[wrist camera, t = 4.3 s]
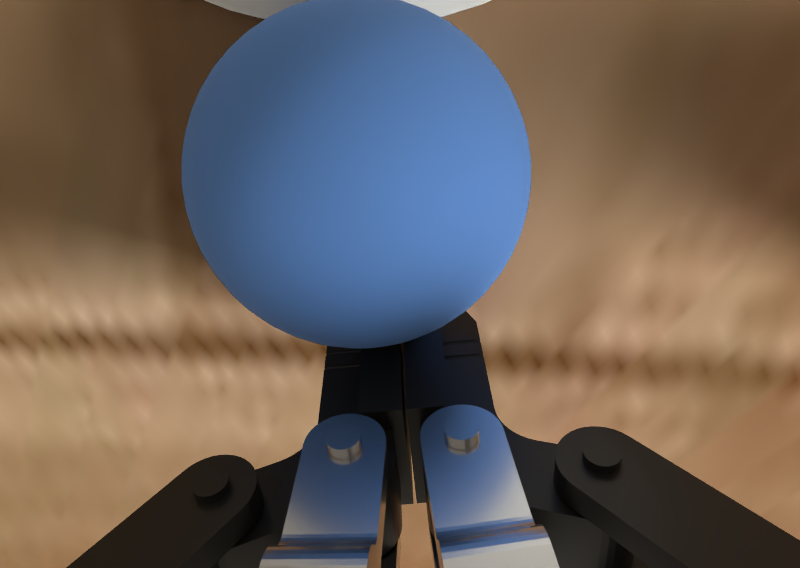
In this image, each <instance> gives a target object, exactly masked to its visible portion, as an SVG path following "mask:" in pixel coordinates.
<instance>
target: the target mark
mask: <svg viewBox="0 0 800 568" xmlns="http://www.w3.org/2000/svg"><path fill="white" fill-rule="evenodd" d="M204 1H207V2H210V3H212V4H215V5H217V6H220V7H222V8H225V9H228V10H230V11H234V12H238V13H242V14H246V15H250V16H254V17H258V18H262V19H266V18H268V17H269V16H271V15H273V14H276V13H278V12H280V11H282V10H284V9H286V8H288V7H290V6H292V5H295V4H298V3H302V2H305V1H309V0H204ZM401 1H404V2H407V3H410V4H413V5H415V6H418V7H421V8H424V9H426V10H428V11H430V12H432V13H433V14H435V15H437V16H439V17H443V16H446V15H449V14H453V13H456V12H459V11H462V10H466V9H469V8H472V7H475V6H478V5H482V4H485V3H487V2H489V1H491V0H401Z"/></svg>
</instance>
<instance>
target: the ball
mask: <svg viewBox="0 0 800 568" xmlns="http://www.w3.org/2000/svg"><path fill="white" fill-rule="evenodd" d="M181 164H182V189H183V196H184V202H185V209H186V212H187V216H188V219H189V222H190V226H191V229H192V232H193V234H194V237H195V239H196V241H197V243H198V246H199V248H200V250H201V252H202V254H203V256H204V257H205V259H206V261H207V262H208V264H209V265H210V267H211V269H212V270H213V272H214V273H215V275H216V276H217V277H218V279H219V280H220V281H221V282H222V283H223V285H224V286H225V287H226V288H227V289H228V291H229V292H230V293H231V294H232V295H233V296H234V297H235V298H236V299H237V300H238V301H239V302H240V303H242V304H243V305H244V306H245V307H246V308H247V309H248V310H250V311H251V312H252V313H254V314H255V315H257V316H258V317H260V318H261V319H263V320H264V321H266V322H267V323H269V324H270V325H272V326H274V327H276V328H278V329H280V330H282V331H284V332H286V333H288V334H290V335H292V336H295V337H297V338H301V339H304V340H307V341H311V342H314V343H317V344H321V345H326V346H333V347H343V348H357V349H362V348H377V347H385V346H391V345H395V344H400V343H403V342H407V341H410V340H413V339H416V338H418V337H421V336H423V335H426V334H428V333H430V332H433V331H435V330H437V329H439V328H441V327H443V326H444V325H446V324H447V323H449V322H450V321H452V320H453V319H455V318H456V317H458V316H459V315H461V314H462V313H464V312H465V311H466V310H467V309H468V308H469V307H470V306H472V305H473V304H474V303H475V302H476V301H477V300H478V299H479V298H480V297H481V296H482V295H484V293H485V292H486V291H487V290H488V288H489V287H490V286H491V285H492V284H493V282H494V281H495V280H496V279H497V277H498V276H499V275H500V273H501V272H502V270H503V268H504V267H505V265H506V263H507V262H508V260H509V258H510V257H511V255H512V253H513V251H514V248H515V246H516V244H517V241H518V239H519V237H520V234H521V231H522V228H523V224H524V220H525V217H526V213H527V209H528V203H529V196H530V188H531V157H530V150H529V142H528V136H527V133H526V129H525V125H524V121H523V118H522V114H521V112H520V110H519V107H518V105H517V102H516V100H515V98H514V95H513V93H512V91H511V89H510V88H509V86H508V84H507V83H506V81H505V79H504V77H503V76H502V74H501V72H500V71H499V70H498V68H497V67H496V66H495V65H494V63H493V62H492V61H491V59H490V58H489V57H488V56H487V54H486V53H485V52H484V51H483V50H482V49H481V48H480V47H479V46H478V45H477V44H476V43H475V42H474V41H473V40H472V39H471V38H470V37H468V36H467V35H466V34H465V33H463V32H462V31H461V30H459V29H458V28H456V27H455V26H454V25H452V24H451V23H450V22H448V21H447V20H445V19H443V18H441V17H439V16H437V15H435V14H433V13H432V12H430V11H428V10H426V9H424V8H421V7H418V6H415V5H413V4H410V3H407V2H404V1H401V0H309V1H305V2H302V3H298V4H295V5H292V6H290V7H288V8H286V9H284V10H282V11H280V12H278V13H276V14H273V15H271V16H269V17H268V18H266V19H265V20H263V21H262V22H260V23H259V24H257V25H256V26H254V27H253V28H251V29H250V30H249V31H247V32H246V33H245V34H244V35H243V36H242V37H240V38H239V39H238V40H237V41H236V42H235V43H234V44H233V45H232V46H231V47H230V48H229V49H228V50H227V51H226V52H225V54H224V55H223V56H222V57H221V58H220V60H219V61H218V62H217V63H216V65H215V66H214V67H213V69H212V70H211V72H210V74H209V75H208V77H207V79H206V80H205V82H204V84H203V85H202V87H201V89H200V91H199V93H198V96H197V98H196V100H195V103H194V105H193V108H192V110H191V113H190V117H189V120H188V124H187V128H186V132H185V135H184V143H183V151H182V160H181Z"/></svg>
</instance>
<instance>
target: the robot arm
mask: <svg viewBox="0 0 800 568" xmlns="http://www.w3.org/2000/svg"><path fill="white" fill-rule="evenodd" d="M326 353H327V356H326V360H325V370H324V377H323V386H322V394H321V403H320V411H319V420H318V425H316V426H315V427H314V428H313V429H312V430H311V431H310V432H309V434H308V435H307V437H306V439H305V441H304V444H303V448H302V449H301V450H300V451H298V452H297V453H296V454H294V455H292V456H290V457H289V458H287V459H284V460H282V461H279V462H276V463H274V464H271V465H268V466H265V467H262V468H259V469H256V470H254V467H253V466H252V465H251V464H250V463H249V462H248V461H247V460H245V459H243V458H241V457H238V456H234V455H218V456H212V457H209V458H206V459H203V460H201V461H199V462H197V463H195V464H193V465H191V466H190V467H189V468H187V469H186V470H185V471H183V472H182V473H181V474H180V475H179V476H177V477H176V478H175V479H174V480H172V481H171V482H170V483H169V484H168V485H166V486H165V487H164V488H163V489H162V490H160V491H159V492H158V493H157V494H155V495H154V496H153V497H152V498H151V499H149V500H148V501H147V502H146V503H144V504H143V505H142V506H141V507H140V508H138V509H137V510H136V511H135V512H134V513H132V514H131V515H130V516H129V517H127V518H126V519H125V520H124V521H123V522H121V523H120V524H119V525H118V526H116V527H115V528H114V529H113V530H112V531H110V532H109V533H108V534H107V535H106V536H104V537H103V538H102V539H101V540H99V541H98V542H97V543H96V544H95V545H93V546H92V547H91V548H90V549H88V550H87V551H86V552H85V553H84V554H82V555H81V556H80V557H79V558H78V559H76V560H75V561H74V562H73V563H71V564H70V565H69V566H68V567H67V568H400V554H401V540H400V534H401V531H402V510H401V505H402V504H413V485H412V465H411V455H412V464H413V472H414V481H415V490H416V499H417V503H425V502H426V503H427V513H428V522H429V532H430V542H431V549H432V555H433V562H434V568H800V540H798V539H796V538H795V537H793V536H792V535H790V534H788V533H787V532H785V531H783V530H782V529H780V528H778V527H777V526H775V525H773V524H772V523H770V522H769V521H767V520H765V519H764V518H762V517H760V516H759V515H757V514H755V513H754V512H752V511H751V510H749V509H747V508H746V507H744V506H742V505H741V504H739V503H737V502H736V501H734V500H732V499H731V498H729V497H728V496H726V495H724V494H723V493H721V492H719V491H718V490H716V489H714V488H713V487H711V486H710V485H708V484H706V483H705V482H703V481H701V480H700V479H698V478H696V477H695V476H693V475H691V474H690V473H688V472H687V471H685V470H683V469H682V468H680V467H678V466H677V465H675V464H673V463H672V462H670V461H668V460H667V459H665V458H664V457H662V456H660V455H659V454H657V453H655V452H654V451H652V450H650V449H649V448H647V447H646V446H644V445H642V444H641V443H639V442H637V441H636V440H634V439H632V438H631V437H629V436H627V435H625V434H624V433H622V432H619V431H616V430H614V429H610V428H606V427H583V428H579V429H576V430H574V431H571V432H569V433H568V434H566V435H565V436H564V437H563V438H562V439H561V440H560V442H559V443H558V444H553V443H548V442H542V441H537V440H532V439H528V438H526V437H523V436H520V435H518V434H516V433H514V432H513V431H511V430H510V429H508V428H507V427H506V426H505V425H504V424H503V423H502V422H501V421H500V419H499V418H498V416H497V414H496V412H495V409H494V405H493V400H492V395H491V390H490V385H489V381H488V376H487V371H486V366H485V362H484V357H483V352H482V347H481V343H480V338H479V333H478V328H477V323H476V321H475V320H474V319H473V318H472V317H471V316H470V315H469V314H468V313H467V312H466V311H465V312H464V313H462V314H461V315H459V316H458V317H456V318H455V319H453V320H452V321H450V322H449V323H447V324H446V325H444V326H443V327H441V328H439V329H437V330H435V331H433V332H430V333H428V334H426V335H423V336H421V337H418V338H416V339H413V340H410V341H407V342H403V343H400V344H395V345H391V346H385V347H377V348H362V349H357V348H343V347H333V346H327V351H326Z"/></svg>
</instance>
